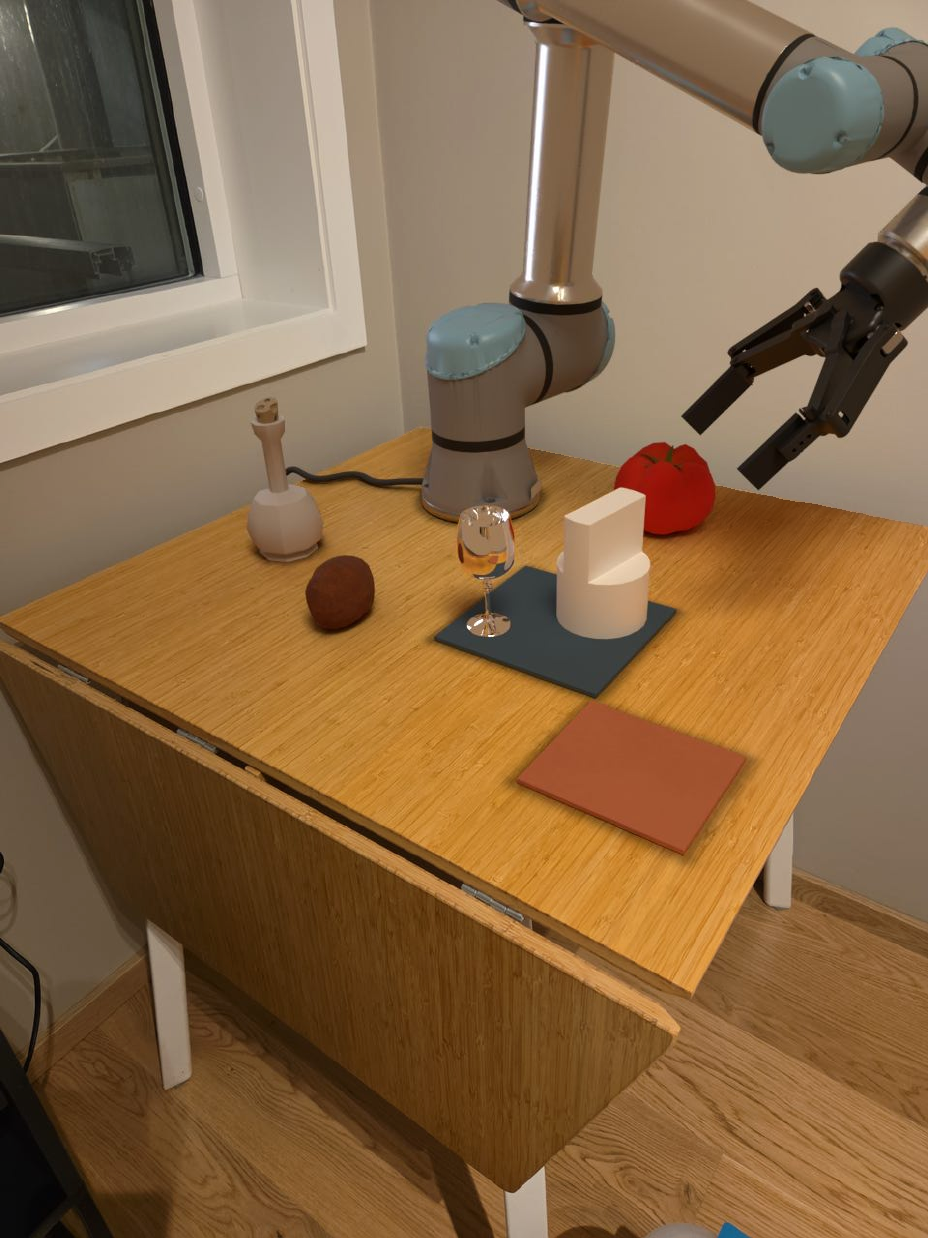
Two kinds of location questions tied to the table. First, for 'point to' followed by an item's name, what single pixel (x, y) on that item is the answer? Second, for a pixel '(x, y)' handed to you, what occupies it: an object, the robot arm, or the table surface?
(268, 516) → the potion bottle
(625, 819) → the mat
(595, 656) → the mat
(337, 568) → the potato
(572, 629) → the base with upright slab
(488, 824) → the table surface
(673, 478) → the tomato
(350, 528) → the table surface
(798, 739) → the table surface
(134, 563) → the table surface
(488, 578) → the wineglass
